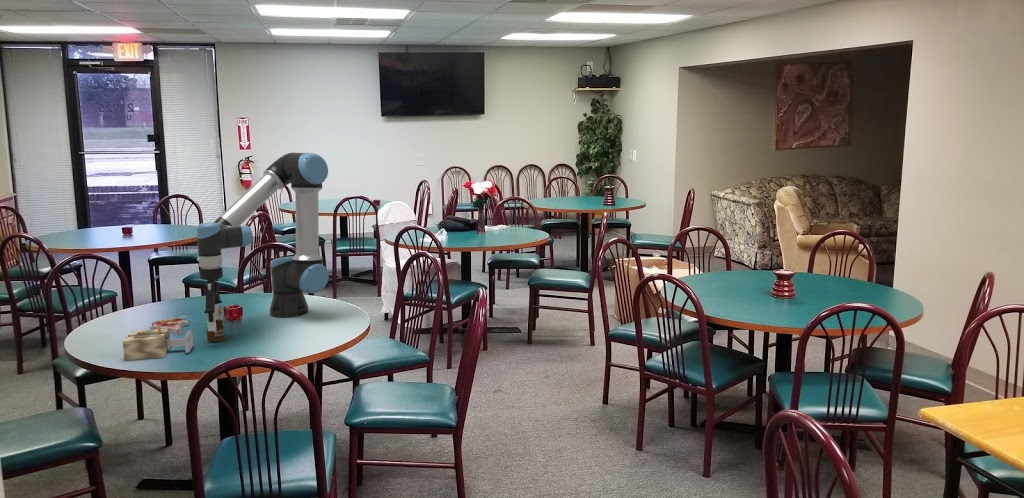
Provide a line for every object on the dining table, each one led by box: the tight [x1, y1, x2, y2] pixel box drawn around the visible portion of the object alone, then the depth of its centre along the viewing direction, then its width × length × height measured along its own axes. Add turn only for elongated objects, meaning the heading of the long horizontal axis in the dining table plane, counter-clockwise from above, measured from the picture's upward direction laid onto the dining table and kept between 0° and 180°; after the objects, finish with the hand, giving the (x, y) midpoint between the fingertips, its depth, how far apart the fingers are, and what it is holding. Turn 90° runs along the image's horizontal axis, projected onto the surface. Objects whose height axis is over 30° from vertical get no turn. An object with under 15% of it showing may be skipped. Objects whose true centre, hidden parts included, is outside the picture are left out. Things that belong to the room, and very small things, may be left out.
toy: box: [149, 315, 189, 336], centre depth 291 cm, size 15×4×20 cm
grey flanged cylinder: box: [158, 325, 194, 354], centre depth 261 cm, size 14×9×9 cm, turn 104°
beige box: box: [122, 328, 171, 361], centre depth 260 cm, size 12×13×7 cm
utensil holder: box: [205, 305, 226, 343], centre depth 274 cm, size 6×6×12 cm
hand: (214, 326), depth 274 cm, fingers open, 13 cm apart
